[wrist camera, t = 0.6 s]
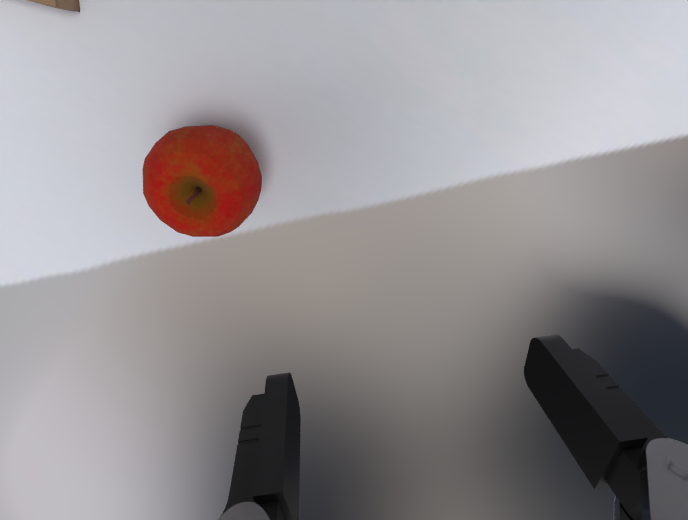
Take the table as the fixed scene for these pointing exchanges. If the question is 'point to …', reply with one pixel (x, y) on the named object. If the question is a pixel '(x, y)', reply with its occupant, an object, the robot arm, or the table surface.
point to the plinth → (61, 4)
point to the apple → (201, 180)
